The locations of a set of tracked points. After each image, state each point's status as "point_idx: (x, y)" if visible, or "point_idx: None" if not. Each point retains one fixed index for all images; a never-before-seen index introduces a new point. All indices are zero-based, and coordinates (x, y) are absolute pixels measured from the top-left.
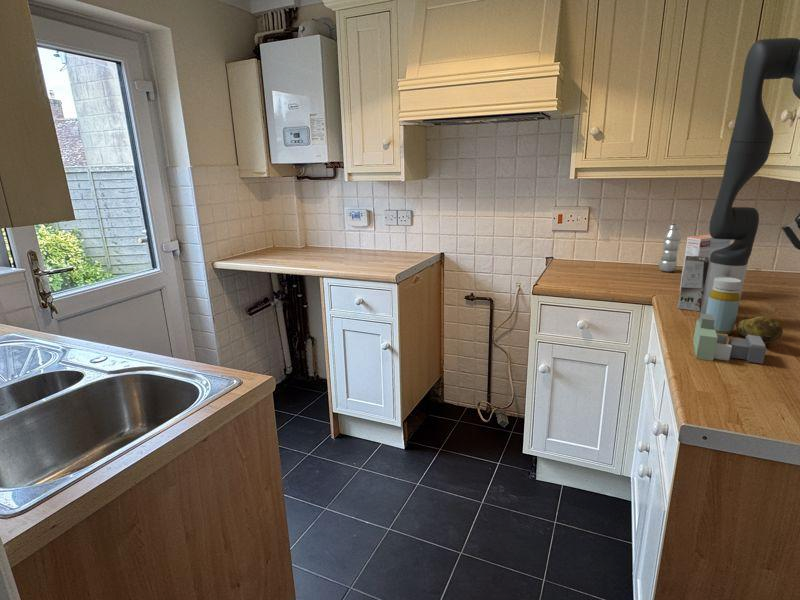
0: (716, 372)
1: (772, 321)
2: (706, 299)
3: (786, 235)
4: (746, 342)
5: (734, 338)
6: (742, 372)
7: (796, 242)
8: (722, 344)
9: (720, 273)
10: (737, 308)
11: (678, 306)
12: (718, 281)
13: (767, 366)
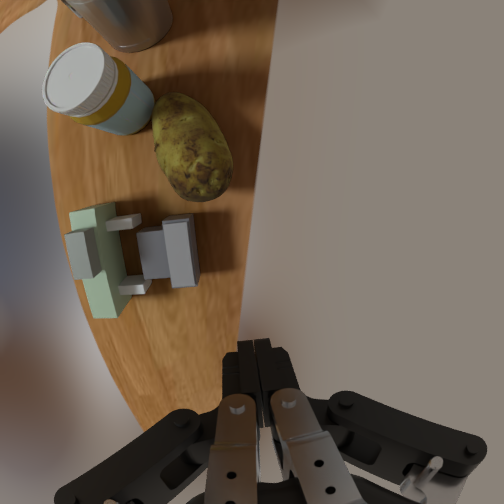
0: (144, 339)
1: (204, 182)
2: (95, 29)
3: (101, 468)
4: (165, 249)
5: (144, 235)
6: (174, 322)
7: (173, 476)
8: (130, 288)
9: (77, 2)
10: (135, 100)
11: (78, 16)
12: (49, 107)
13: (207, 276)
